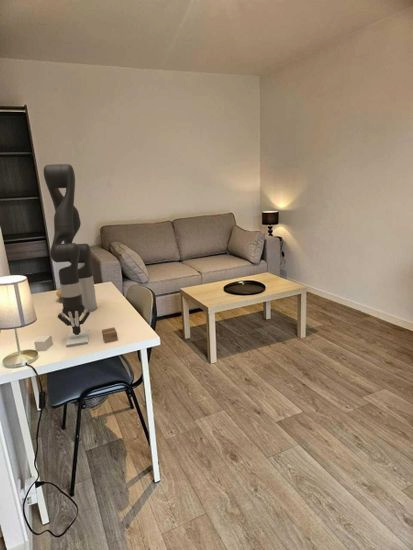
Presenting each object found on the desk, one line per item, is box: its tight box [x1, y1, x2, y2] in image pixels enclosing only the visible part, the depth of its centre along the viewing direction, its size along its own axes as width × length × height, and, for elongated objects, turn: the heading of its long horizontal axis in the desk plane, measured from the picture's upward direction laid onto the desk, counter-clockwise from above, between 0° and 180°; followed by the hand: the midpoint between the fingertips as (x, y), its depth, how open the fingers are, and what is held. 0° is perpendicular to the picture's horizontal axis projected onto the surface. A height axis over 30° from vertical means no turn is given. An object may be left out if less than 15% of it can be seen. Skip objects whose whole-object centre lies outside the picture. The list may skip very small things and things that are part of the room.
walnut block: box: [101, 327, 119, 344], centre depth 146 cm, size 5×5×4 cm
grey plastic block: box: [33, 334, 54, 352], centre depth 142 cm, size 6×4×4 cm, turn 178°
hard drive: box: [65, 329, 90, 348], centre depth 148 cm, size 2×8×12 cm
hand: (77, 334), depth 147 cm, fingers closed
